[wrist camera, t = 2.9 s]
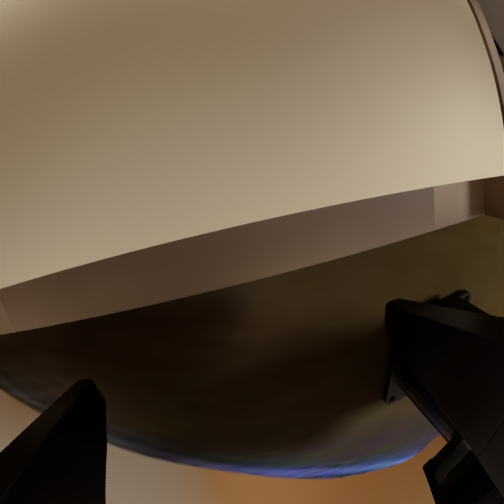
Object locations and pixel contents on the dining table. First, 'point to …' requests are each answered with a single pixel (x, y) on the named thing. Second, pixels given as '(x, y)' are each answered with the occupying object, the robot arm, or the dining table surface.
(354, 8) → the cream rectangular block
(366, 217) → the open tray box
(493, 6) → the milk carton
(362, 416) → the dining table surface
